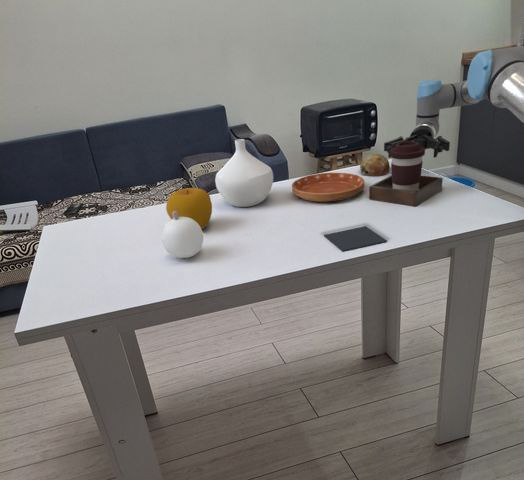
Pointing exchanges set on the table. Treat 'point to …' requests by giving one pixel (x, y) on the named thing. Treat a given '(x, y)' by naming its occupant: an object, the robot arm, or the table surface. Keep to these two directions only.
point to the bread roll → (374, 165)
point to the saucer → (328, 186)
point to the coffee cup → (406, 165)
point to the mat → (354, 238)
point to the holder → (410, 198)
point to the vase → (244, 178)
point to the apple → (191, 205)
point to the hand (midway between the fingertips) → (412, 153)
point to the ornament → (182, 236)
